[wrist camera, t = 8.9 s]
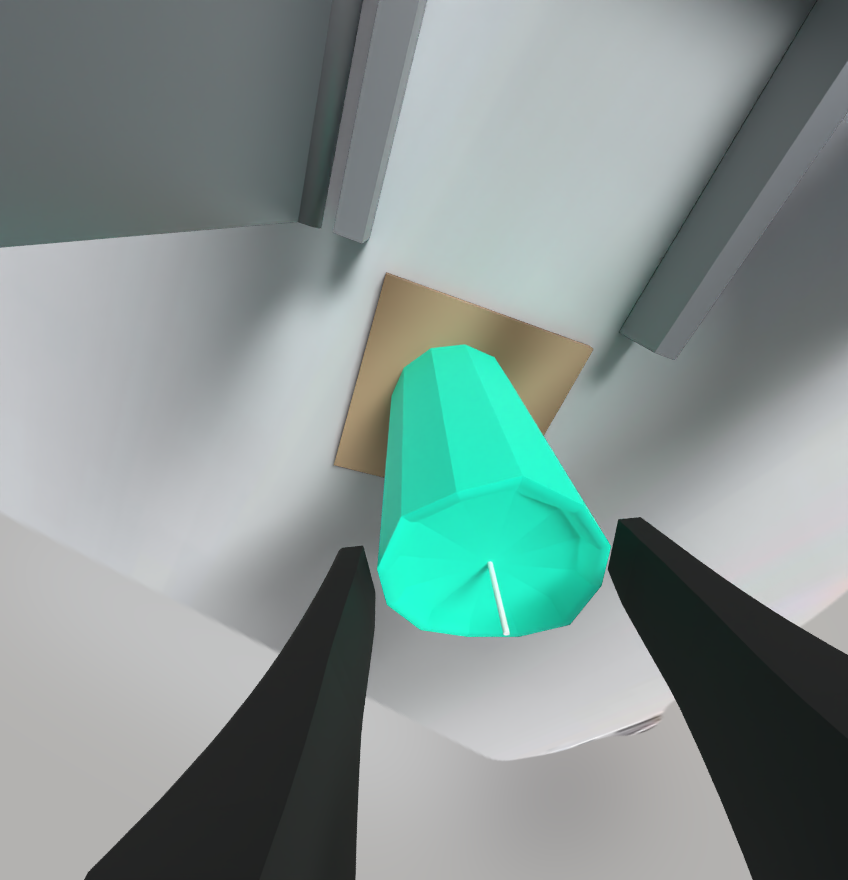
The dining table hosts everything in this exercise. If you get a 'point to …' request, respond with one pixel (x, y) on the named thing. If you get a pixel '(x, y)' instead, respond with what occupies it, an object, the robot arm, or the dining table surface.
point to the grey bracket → (321, 130)
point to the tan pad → (438, 325)
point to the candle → (479, 507)
